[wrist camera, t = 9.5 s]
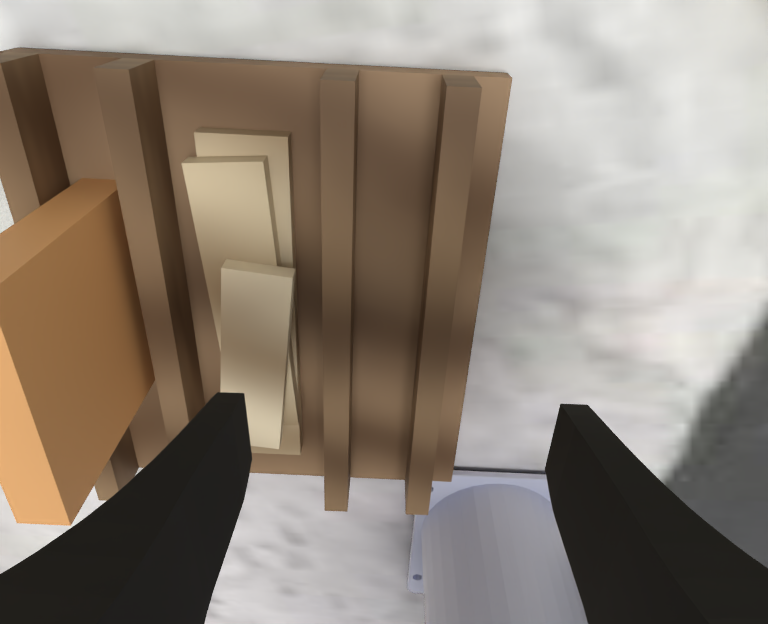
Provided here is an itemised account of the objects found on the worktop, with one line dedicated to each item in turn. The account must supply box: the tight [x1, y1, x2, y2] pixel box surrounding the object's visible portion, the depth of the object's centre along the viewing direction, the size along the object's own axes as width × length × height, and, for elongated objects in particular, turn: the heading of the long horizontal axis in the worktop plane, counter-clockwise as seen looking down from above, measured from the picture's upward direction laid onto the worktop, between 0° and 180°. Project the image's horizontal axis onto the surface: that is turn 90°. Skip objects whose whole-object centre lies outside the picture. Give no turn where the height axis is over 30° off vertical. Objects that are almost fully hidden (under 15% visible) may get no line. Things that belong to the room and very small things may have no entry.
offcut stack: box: [182, 127, 303, 455], centre depth 22 cm, size 14×4×2 cm, turn 177°
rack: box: [0, 48, 512, 515], centre depth 22 cm, size 18×16×3 cm
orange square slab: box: [0, 178, 155, 526], centre depth 19 cm, size 8×2×8 cm, turn 177°
